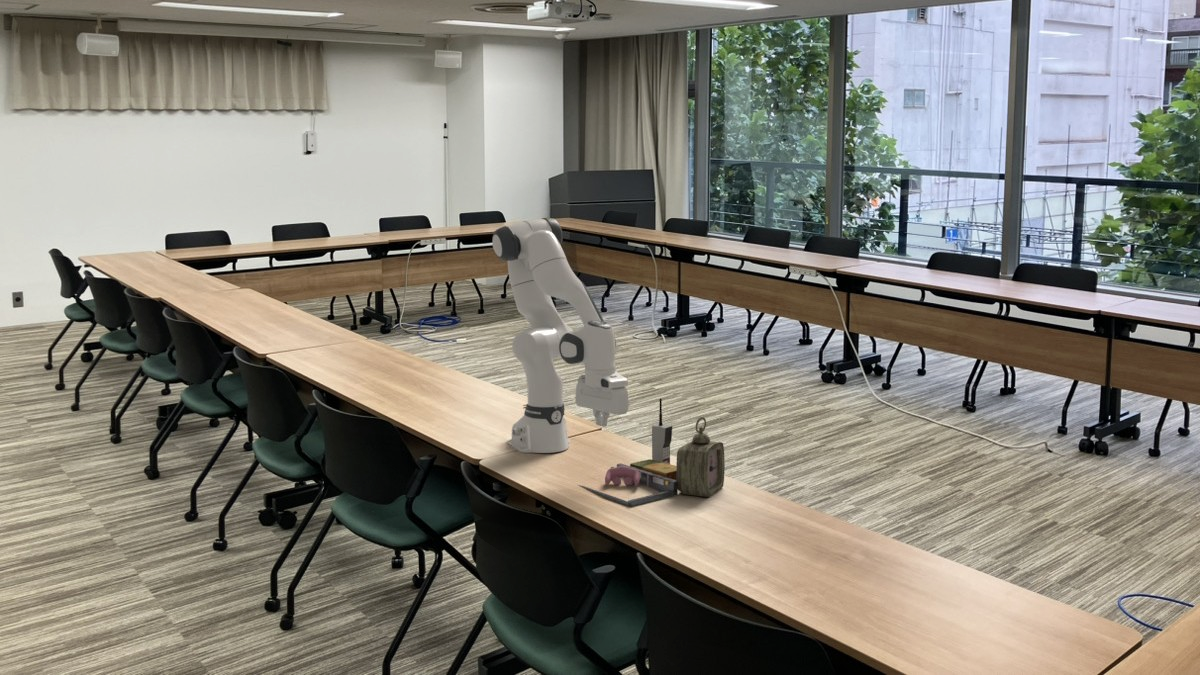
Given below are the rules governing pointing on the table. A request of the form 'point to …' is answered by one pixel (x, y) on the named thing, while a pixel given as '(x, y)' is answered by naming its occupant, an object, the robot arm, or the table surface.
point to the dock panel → (650, 480)
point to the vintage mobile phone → (661, 440)
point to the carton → (657, 468)
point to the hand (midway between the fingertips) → (601, 425)
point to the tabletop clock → (700, 465)
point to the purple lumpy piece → (622, 475)
